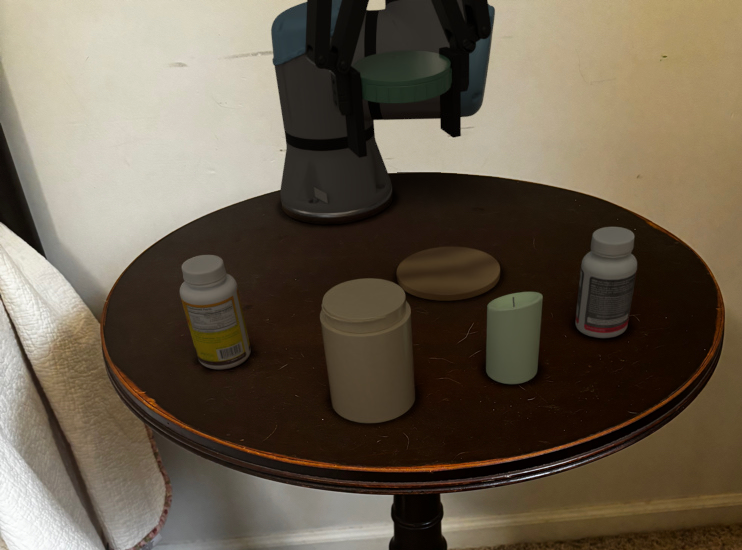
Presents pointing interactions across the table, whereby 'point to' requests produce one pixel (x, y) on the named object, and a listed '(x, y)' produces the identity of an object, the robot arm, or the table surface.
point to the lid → (404, 76)
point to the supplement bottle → (214, 313)
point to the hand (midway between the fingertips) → (404, 141)
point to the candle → (513, 337)
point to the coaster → (448, 273)
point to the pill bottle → (606, 283)
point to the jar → (368, 350)
